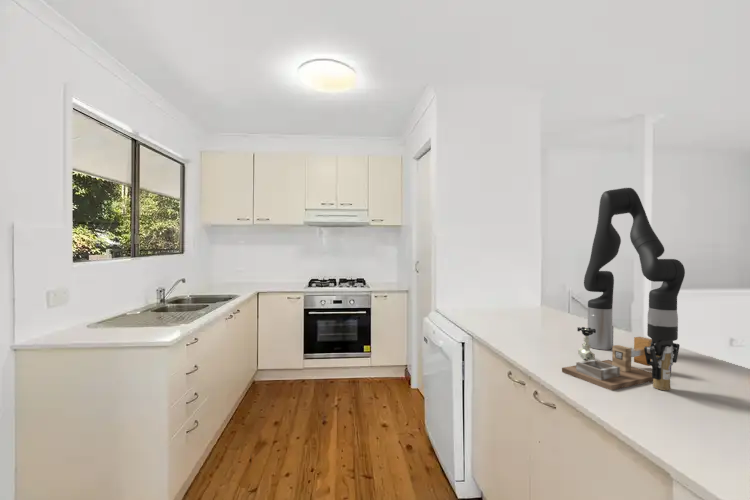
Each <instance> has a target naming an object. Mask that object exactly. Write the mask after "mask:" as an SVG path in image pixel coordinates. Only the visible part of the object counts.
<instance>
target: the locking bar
mask: <svg viewBox="0 0 750 500" xmlns="http://www.w3.org/2000/svg"><path fill="white" fill-rule="evenodd" d="M633 339H634V340H633V341H634V342H633V348H631V358H633V362H634V363H636V364H640V365H644V366H647V367H652V366H651V365H648V364H647V362H646V356H645V351H644V347H645V346H646V347H649V346H651V341H652V339H651V338H649V337H644V336H643V337H642V336H635V337H633ZM616 358H620V359H623V353H622V352H619V351H617V352H616ZM650 361H651V359H650Z"/></svg>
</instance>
